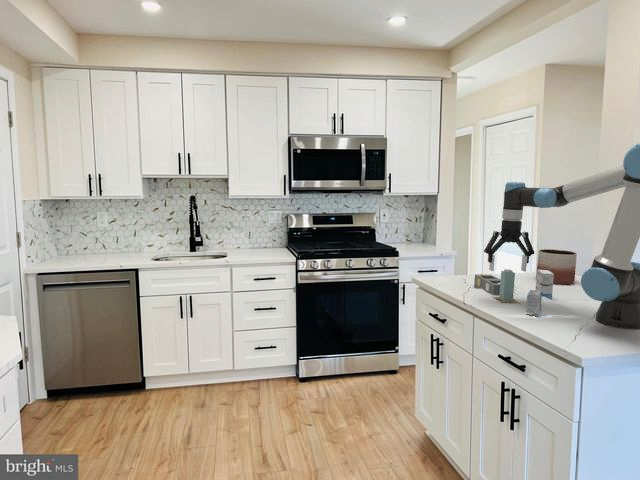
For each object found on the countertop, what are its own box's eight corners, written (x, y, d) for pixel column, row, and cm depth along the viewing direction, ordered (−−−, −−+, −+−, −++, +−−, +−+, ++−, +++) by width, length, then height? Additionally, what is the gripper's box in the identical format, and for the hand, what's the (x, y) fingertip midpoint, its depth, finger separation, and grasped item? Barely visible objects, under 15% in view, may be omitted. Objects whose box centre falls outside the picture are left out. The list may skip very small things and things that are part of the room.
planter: (539, 276, 243) (541, 248, 241) (576, 281, 233) (579, 251, 231) (532, 281, 229) (535, 251, 227) (571, 287, 219) (574, 255, 216)
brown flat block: (520, 306, 181) (521, 303, 181) (501, 306, 181) (501, 303, 180) (509, 300, 191) (509, 296, 191) (491, 300, 190) (491, 296, 190)
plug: (512, 301, 184) (515, 271, 182) (503, 301, 183) (505, 270, 182) (508, 298, 188) (510, 269, 186) (499, 298, 187) (501, 269, 186)
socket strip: (511, 298, 194) (512, 284, 193) (492, 298, 194) (493, 284, 193) (490, 286, 216) (491, 273, 215) (473, 286, 215) (474, 273, 214)
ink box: (552, 300, 193) (554, 273, 191) (539, 299, 194) (542, 273, 192) (546, 295, 201) (548, 269, 199) (534, 294, 202) (536, 269, 200)
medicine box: (538, 317, 166) (540, 295, 165) (525, 315, 169) (527, 293, 168) (540, 312, 173) (542, 291, 172) (528, 310, 175) (530, 289, 174)
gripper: (537, 219, 185) (532, 269, 188) (478, 218, 184) (474, 268, 187) (546, 221, 178) (541, 273, 181) (485, 220, 177) (481, 271, 180)
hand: (507, 270), depth 184 cm, fingers open, 13 cm apart
